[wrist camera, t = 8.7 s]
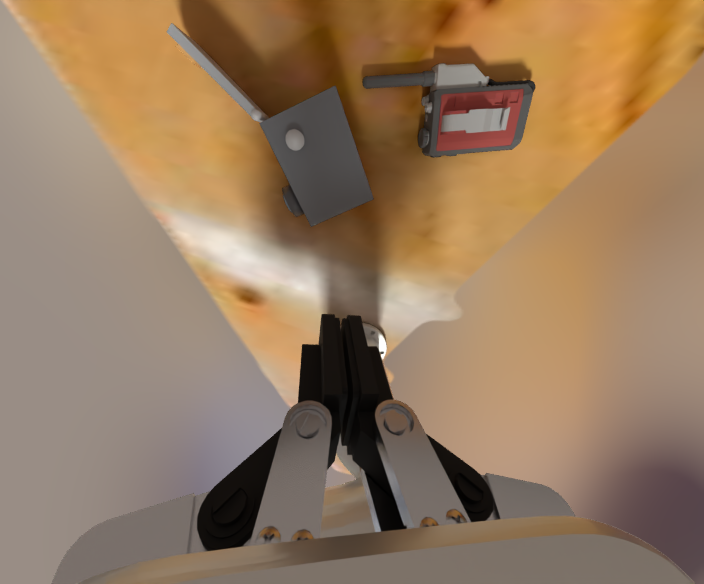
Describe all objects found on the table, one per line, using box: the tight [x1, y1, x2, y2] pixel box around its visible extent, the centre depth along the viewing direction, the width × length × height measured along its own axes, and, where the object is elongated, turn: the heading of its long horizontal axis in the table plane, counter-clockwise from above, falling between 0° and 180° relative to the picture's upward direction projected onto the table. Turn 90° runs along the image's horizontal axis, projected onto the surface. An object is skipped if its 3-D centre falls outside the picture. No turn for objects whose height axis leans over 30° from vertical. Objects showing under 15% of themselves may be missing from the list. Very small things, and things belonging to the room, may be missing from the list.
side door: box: [167, 23, 269, 122], centre depth 25 cm, size 1×9×5 cm, turn 45°
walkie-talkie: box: [363, 63, 535, 157], centre depth 29 cm, size 9×4×20 cm
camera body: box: [260, 86, 374, 227], centre depth 29 cm, size 11×10×6 cm
